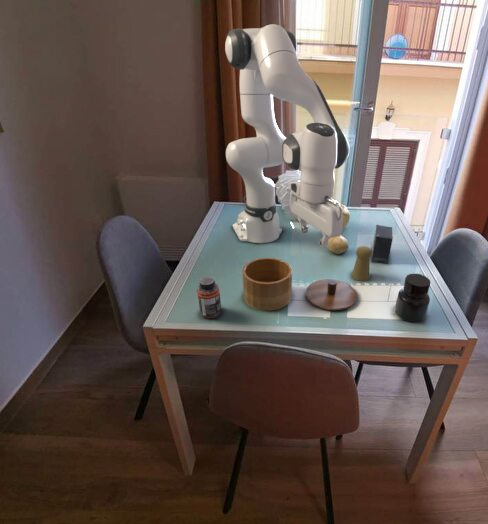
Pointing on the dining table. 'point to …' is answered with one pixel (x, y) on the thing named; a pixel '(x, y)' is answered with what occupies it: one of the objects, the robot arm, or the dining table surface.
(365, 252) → the tan pawn
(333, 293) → the lid
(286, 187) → the spiral staircase
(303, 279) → the dining table surface
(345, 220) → the beige round lump
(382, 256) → the small box
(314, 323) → the dining table surface
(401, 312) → the ink bottle
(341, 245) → the onion
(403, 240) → the dining table surface
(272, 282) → the round wooden box
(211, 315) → the supplement bottle
